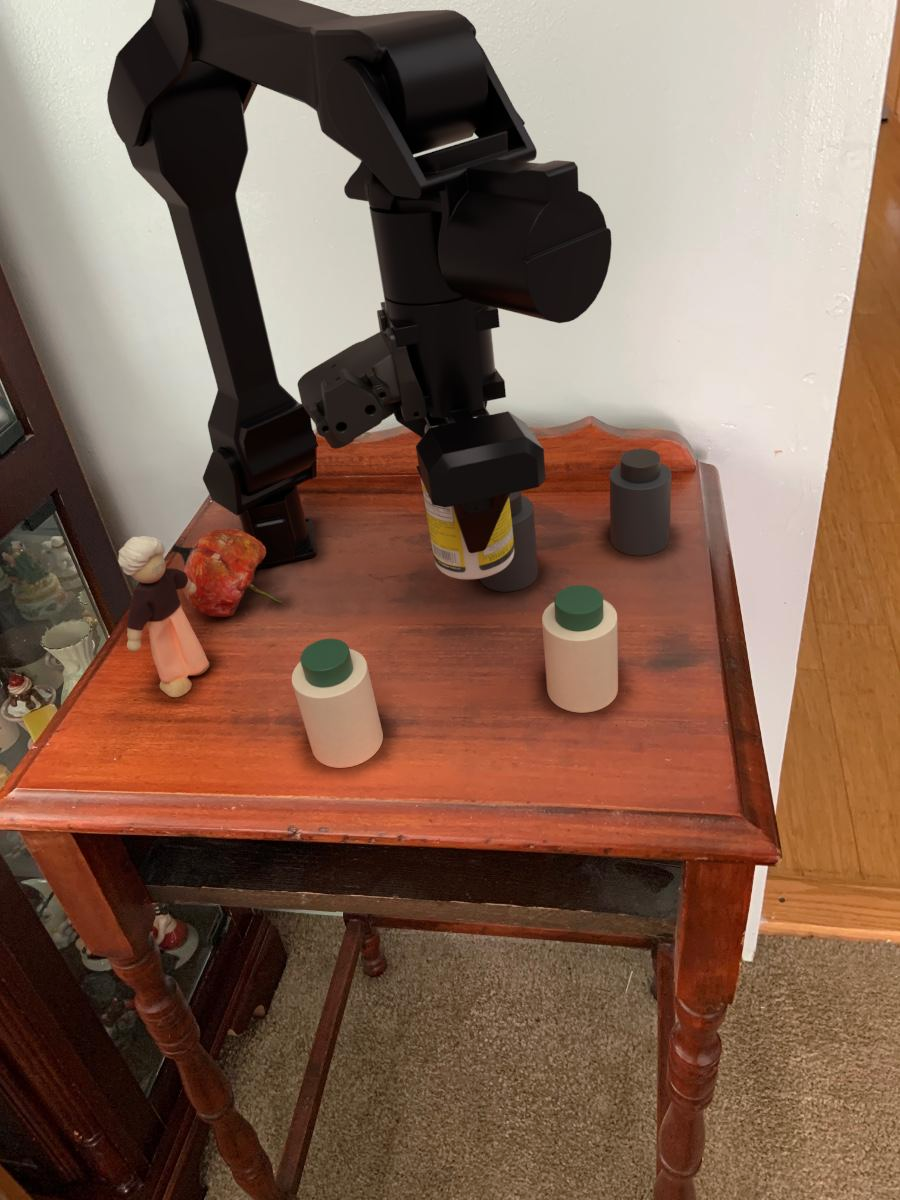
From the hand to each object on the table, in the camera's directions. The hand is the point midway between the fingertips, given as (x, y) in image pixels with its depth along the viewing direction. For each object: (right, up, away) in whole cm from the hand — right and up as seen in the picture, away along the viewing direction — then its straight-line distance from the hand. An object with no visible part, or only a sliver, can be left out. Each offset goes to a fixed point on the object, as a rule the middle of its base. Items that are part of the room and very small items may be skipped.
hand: (466, 527), depth 59 cm
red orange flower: (-19, -5, +19) cm, 28 cm away
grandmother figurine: (-22, -11, +13) cm, 27 cm away
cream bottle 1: (-8, -15, +4) cm, 17 cm away
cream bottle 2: (+8, -11, +6) cm, 15 cm away
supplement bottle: (+1, -2, +2) cm, 3 cm away
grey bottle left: (+4, -3, +18) cm, 19 cm away
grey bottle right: (+15, 0, +20) cm, 25 cm away
